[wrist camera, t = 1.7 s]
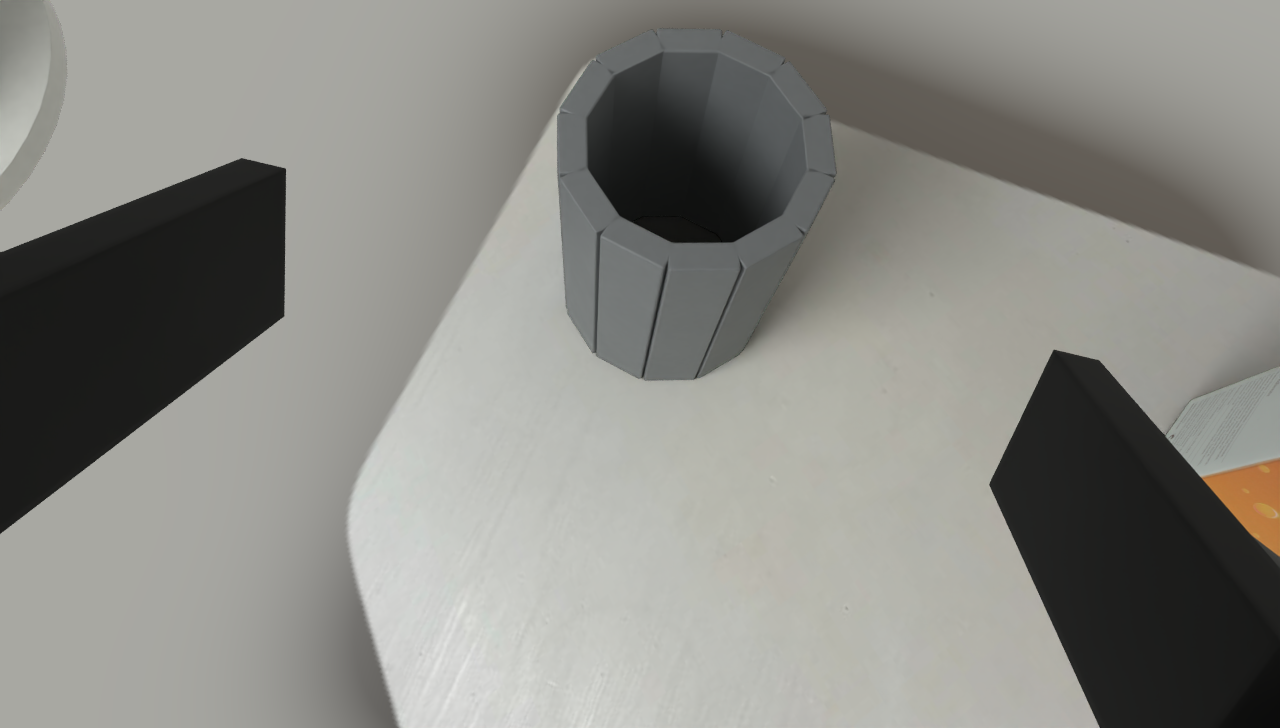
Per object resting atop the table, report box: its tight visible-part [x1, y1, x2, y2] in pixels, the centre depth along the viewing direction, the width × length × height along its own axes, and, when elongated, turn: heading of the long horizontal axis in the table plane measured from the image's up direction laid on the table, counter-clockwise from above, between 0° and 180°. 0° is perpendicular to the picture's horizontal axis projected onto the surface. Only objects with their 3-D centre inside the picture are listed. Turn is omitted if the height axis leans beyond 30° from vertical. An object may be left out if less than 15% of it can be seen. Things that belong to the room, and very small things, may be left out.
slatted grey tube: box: [557, 28, 836, 380], centre depth 33 cm, size 9×9×12 cm
